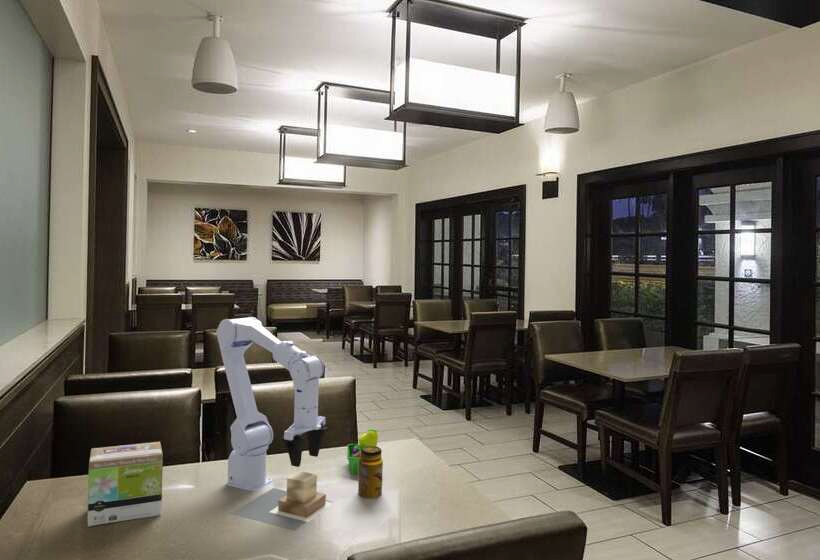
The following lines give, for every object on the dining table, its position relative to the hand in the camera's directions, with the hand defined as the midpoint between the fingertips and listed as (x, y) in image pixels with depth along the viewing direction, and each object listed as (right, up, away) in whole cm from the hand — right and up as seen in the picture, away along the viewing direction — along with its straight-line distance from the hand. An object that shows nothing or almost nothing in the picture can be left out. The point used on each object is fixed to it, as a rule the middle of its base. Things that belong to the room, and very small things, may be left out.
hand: (304, 460), depth 137 cm
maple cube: (0, -8, -3) cm, 8 cm away
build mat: (-4, -10, -4) cm, 12 cm away
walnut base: (0, -10, -4) cm, 11 cm away
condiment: (+15, -11, +5) cm, 19 cm away
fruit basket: (+12, -10, +24) cm, 29 cm away
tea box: (-40, -10, -8) cm, 42 cm away
